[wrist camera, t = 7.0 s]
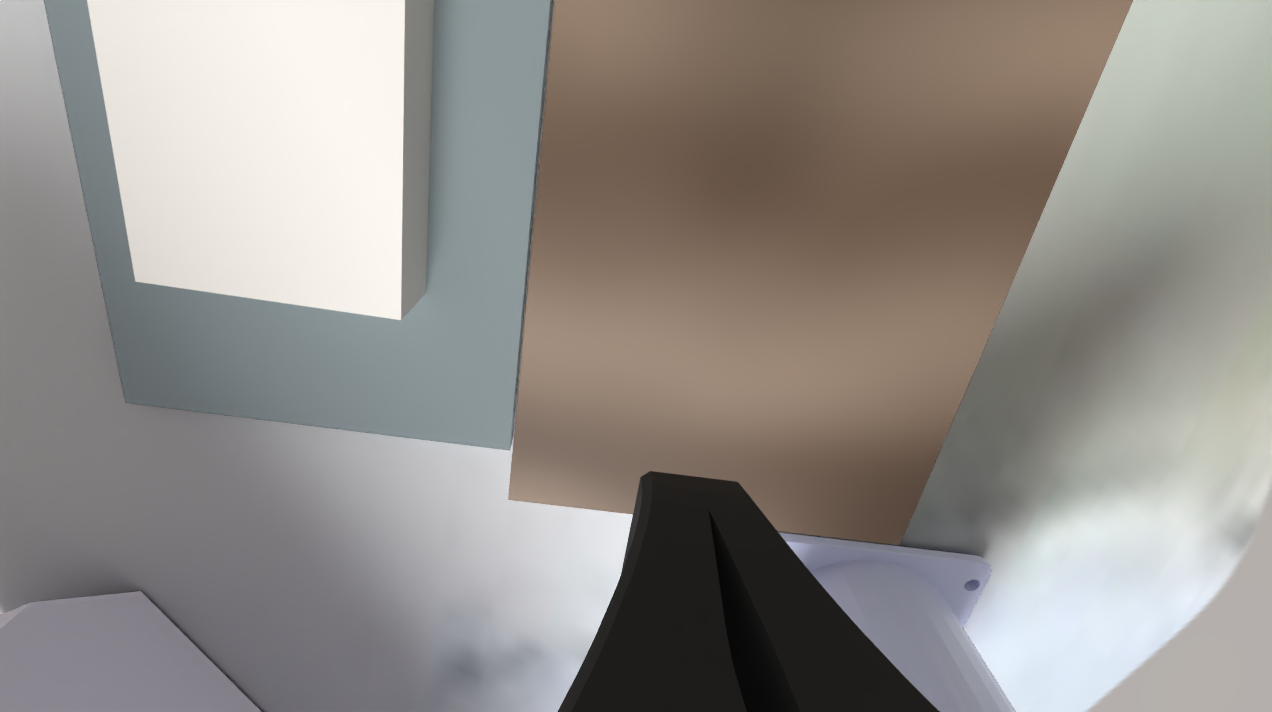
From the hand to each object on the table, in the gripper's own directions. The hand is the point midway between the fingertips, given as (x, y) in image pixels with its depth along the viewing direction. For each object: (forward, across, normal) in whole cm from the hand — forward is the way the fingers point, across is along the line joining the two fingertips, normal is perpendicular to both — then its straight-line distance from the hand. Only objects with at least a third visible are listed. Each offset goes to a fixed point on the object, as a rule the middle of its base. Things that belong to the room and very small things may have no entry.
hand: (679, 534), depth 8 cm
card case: (+7, +9, -4) cm, 12 cm away
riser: (+9, -2, -4) cm, 10 cm away
